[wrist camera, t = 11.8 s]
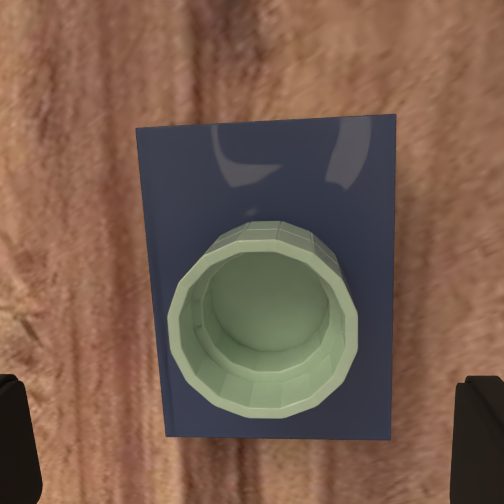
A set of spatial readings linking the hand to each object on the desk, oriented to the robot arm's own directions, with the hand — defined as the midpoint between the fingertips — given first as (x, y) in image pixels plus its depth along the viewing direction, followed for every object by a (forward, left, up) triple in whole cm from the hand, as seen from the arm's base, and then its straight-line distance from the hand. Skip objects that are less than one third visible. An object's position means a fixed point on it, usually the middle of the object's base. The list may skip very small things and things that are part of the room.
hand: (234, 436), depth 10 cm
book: (+1, 0, -15) cm, 15 cm away
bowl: (+1, 0, -12) cm, 12 cm away
